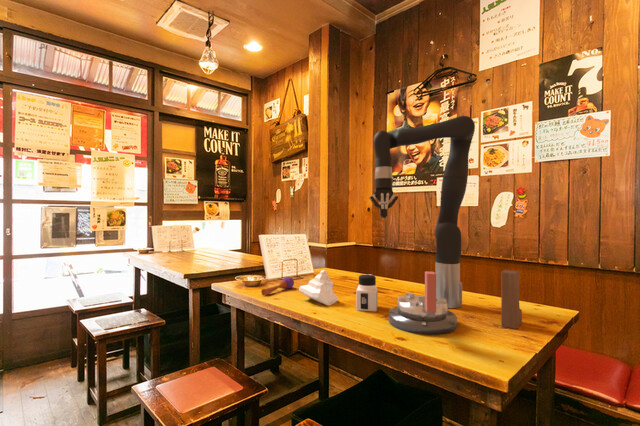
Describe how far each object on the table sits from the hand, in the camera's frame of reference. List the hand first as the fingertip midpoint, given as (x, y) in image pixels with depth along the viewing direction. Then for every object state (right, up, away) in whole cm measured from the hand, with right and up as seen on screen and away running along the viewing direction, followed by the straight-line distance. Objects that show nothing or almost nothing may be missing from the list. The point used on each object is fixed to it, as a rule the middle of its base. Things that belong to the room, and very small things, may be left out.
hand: (383, 217), depth 145 cm
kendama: (-47, -36, +13) cm, 61 cm away
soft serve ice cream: (-28, -35, -5) cm, 45 cm away
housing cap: (+7, -35, -32) cm, 48 cm away
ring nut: (+6, -32, -37) cm, 49 cm away
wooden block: (+36, -35, -34) cm, 61 cm away
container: (-9, -35, -15) cm, 39 cm away
